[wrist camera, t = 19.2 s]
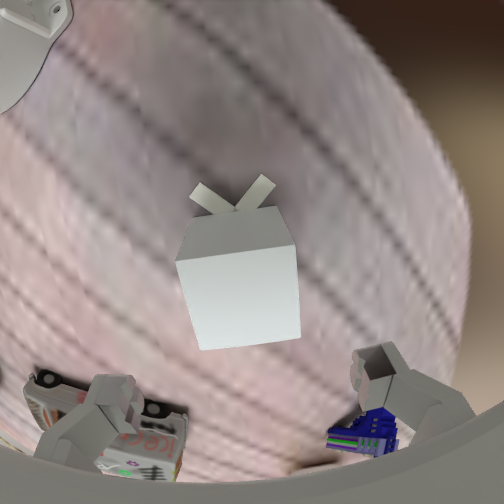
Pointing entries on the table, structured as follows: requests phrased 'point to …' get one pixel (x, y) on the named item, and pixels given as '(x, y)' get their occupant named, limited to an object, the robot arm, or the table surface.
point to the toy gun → (366, 435)
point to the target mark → (221, 206)
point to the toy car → (124, 445)
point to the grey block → (240, 279)
